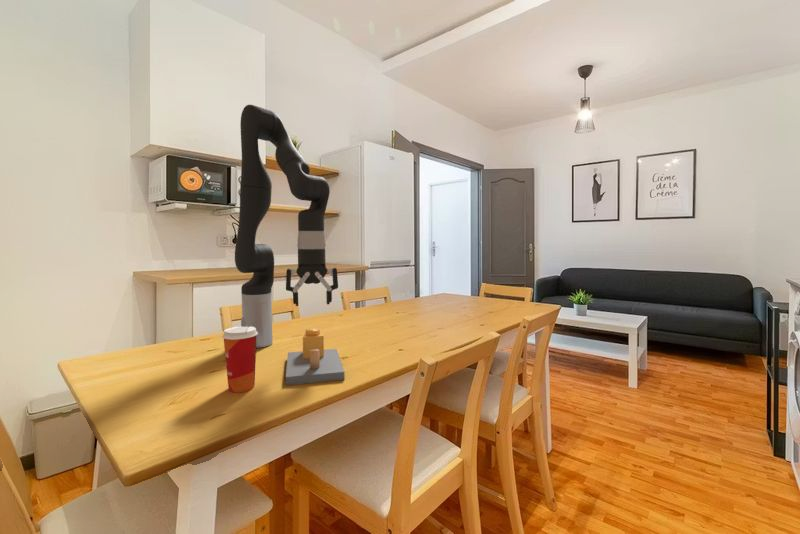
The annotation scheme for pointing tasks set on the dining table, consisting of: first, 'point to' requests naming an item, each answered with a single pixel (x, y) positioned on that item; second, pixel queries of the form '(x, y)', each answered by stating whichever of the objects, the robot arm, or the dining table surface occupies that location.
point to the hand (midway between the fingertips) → (312, 304)
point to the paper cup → (240, 357)
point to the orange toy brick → (313, 342)
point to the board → (313, 374)
